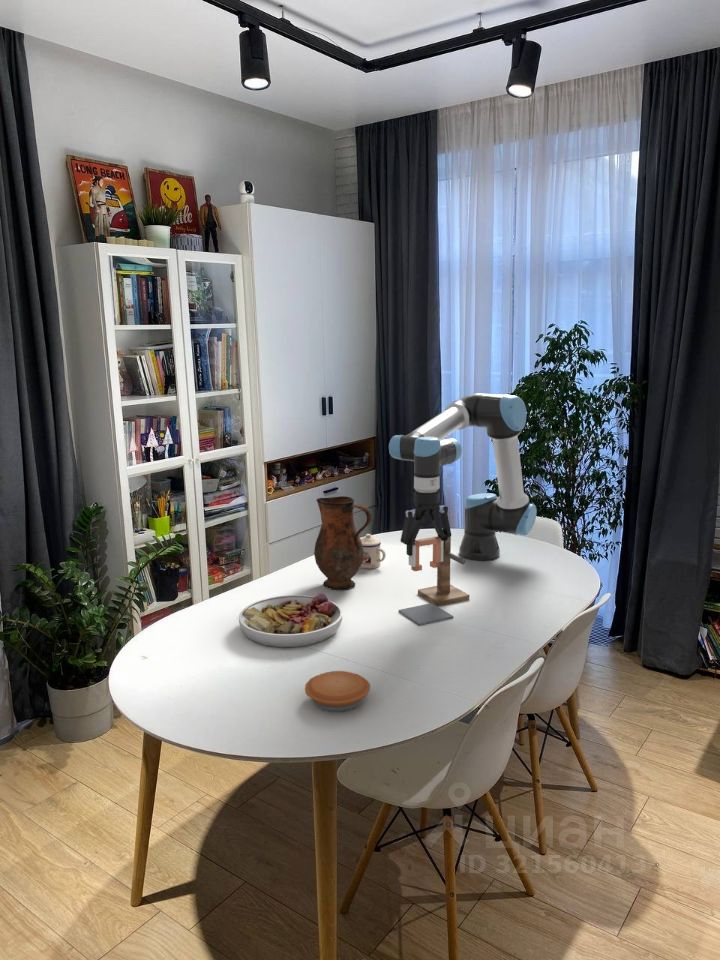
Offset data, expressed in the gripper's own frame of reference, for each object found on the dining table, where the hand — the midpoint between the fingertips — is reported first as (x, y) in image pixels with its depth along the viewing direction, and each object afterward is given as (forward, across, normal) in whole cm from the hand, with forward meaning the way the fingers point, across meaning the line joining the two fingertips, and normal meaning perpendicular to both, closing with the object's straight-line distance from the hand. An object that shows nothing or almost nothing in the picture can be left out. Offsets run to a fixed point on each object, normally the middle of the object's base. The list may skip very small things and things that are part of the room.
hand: (425, 562), depth 227 cm
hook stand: (+17, +13, +8) cm, 23 cm away
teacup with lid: (+17, +7, +48) cm, 51 cm away
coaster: (+17, 0, 0) cm, 17 cm away
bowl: (+17, -40, +10) cm, 45 cm away
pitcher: (+17, -11, +34) cm, 40 cm away
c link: (+2, 0, 0) cm, 2 cm away
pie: (+17, -46, -34) cm, 60 cm away
